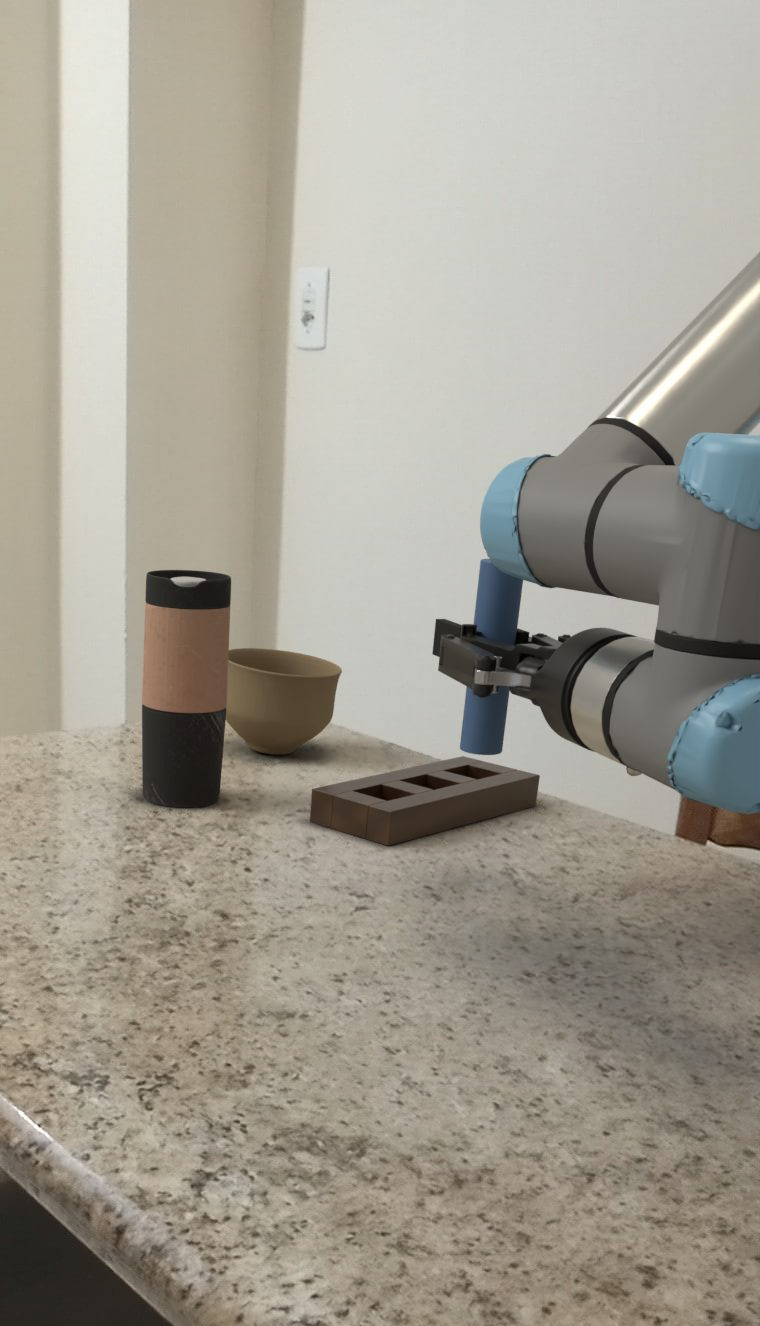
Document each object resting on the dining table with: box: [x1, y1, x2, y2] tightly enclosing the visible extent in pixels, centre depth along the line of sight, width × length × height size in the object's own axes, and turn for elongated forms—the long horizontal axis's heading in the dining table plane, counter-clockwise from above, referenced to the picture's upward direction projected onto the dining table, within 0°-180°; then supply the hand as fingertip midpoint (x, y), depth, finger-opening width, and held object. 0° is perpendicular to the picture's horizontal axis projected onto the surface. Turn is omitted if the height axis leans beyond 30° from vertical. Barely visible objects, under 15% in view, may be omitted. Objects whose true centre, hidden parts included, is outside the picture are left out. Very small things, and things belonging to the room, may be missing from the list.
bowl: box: [225, 647, 343, 756], centre depth 144 cm, size 13×13×10 cm
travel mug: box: [141, 569, 232, 808], centre depth 124 cm, size 8×8×20 cm
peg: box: [459, 558, 524, 756], centre depth 102 cm, size 3×3×14 cm
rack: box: [309, 755, 541, 846], centre depth 125 cm, size 9×22×3 cm, turn 134°
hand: (461, 636), depth 107 cm, fingers closed on peg, 3 cm apart
